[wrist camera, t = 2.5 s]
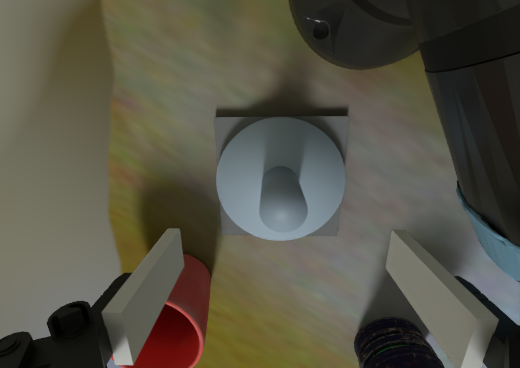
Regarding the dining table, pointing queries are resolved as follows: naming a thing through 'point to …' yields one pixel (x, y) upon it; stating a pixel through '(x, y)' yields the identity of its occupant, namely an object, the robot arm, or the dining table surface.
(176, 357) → the flower pot
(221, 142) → the mat
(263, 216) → the lid
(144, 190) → the dining table surface
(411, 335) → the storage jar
